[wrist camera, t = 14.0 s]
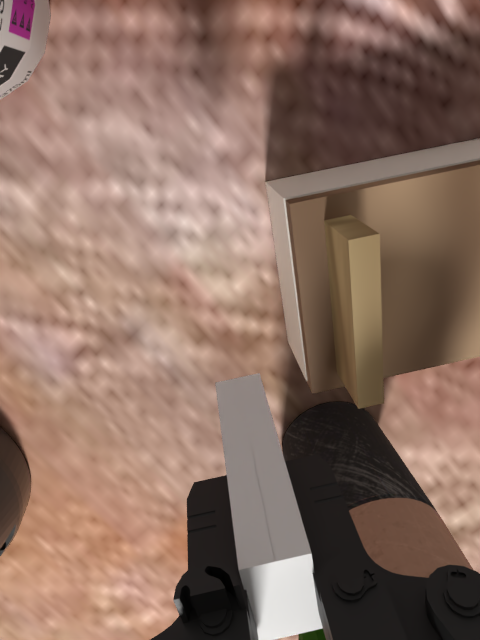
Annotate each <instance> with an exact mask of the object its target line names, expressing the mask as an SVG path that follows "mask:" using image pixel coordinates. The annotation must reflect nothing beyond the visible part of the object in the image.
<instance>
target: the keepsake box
mask: <svg viewBox="0 0 480 640" xmlns="http://www.w3.org/2000/svg"><path fill="white" fill-rule="evenodd" d="M478 160H480V138H478V139H473V140H468V141H463V142H458V143H453V144H448V145H443V146H439V147H434V148H429V149H424V150H419V151H414V152H409V153H404V154H399V155H394V156H389V157H385V158H380V159H375V160H370V161H365V162H360V163H355V164H350V165H345V166H340V167H335V168H331V169H326V170H321V171H316V172H311V173H306V174H301V175H296V176H291V177H286V178H281V179H277V180H272V181H267V182H265V183H266V190H267V197H268V204H269V211H270V218H271V225H272V232H273V239H274V246H275V254H276V261H277V268H278V275H279V282H280V289H281V296H282V303H283V310H284V317H285V324H286V331H287V339H288V343H289V345H290V347H291V349H292V352H293V354H294V356H295V358H296V360H297V362H298V364H299V367H300V369H301V371H302V373H303V375H304V377H305V379H306V381H308V380H307V372H306V364H305V355H304V347H303V339H302V331H301V323H300V315H299V307H298V299H297V290H296V282H295V274H294V266H293V258H292V250H291V242H290V233H289V225H288V217H287V209H286V201H285V200H288V199H293V198H298V197H303V196H308V195H313V194H317V193H322V192H327V191H332V190H337V189H342V188H347V187H352V186H356V185H361V184H366V183H371V182H376V181H381V180H386V179H390V178H395V177H400V176H405V175H410V174H415V173H420V172H424V171H429V170H434V169H439V168H444V167H449V166H454V165H458V164H463V163H468V162H473V161H478Z"/></svg>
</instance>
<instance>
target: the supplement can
mask: <svg viewBox="0 0 480 640" xmlns="http://www.w3.org/2000/svg"><path fill="white" fill-rule="evenodd" d="M50 18H51V13H50V6H49V0H0V99H2V98H4V97H5V96H7V95H8V94H10V93H11V92H12V91H14V90H15V89H17V88H18V87H20V86H21V85H23V84H24V83H26V82H27V81H28V80H29V78H30V76H31V75H32V73H33V71H34V70H35V68H36V66H37V65H38V63H39V61H40V60H41V58H42V56H43V55H44V53H45V48H46V42H47V36H48V30H49V24H50Z"/></svg>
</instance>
